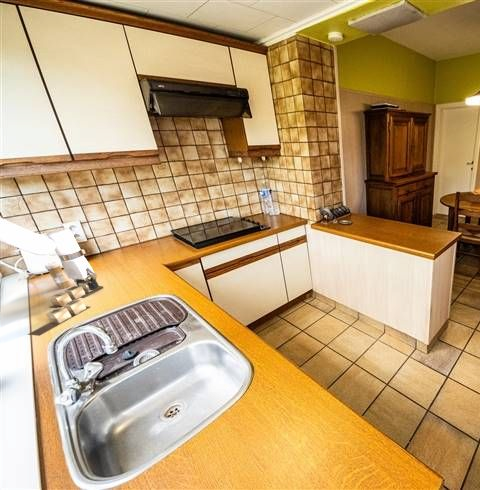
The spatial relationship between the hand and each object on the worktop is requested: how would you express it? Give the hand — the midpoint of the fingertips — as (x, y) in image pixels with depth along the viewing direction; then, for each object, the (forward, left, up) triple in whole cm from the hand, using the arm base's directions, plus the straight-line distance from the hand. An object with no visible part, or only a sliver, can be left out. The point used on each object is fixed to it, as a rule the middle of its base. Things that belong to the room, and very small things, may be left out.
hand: (89, 288), depth 130 cm
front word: (-21, -14, -2) cm, 25 cm away
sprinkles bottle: (+2, +20, -2) cm, 20 cm away
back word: (-6, 0, -2) cm, 6 cm away
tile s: (0, 0, -1) cm, 1 cm away
